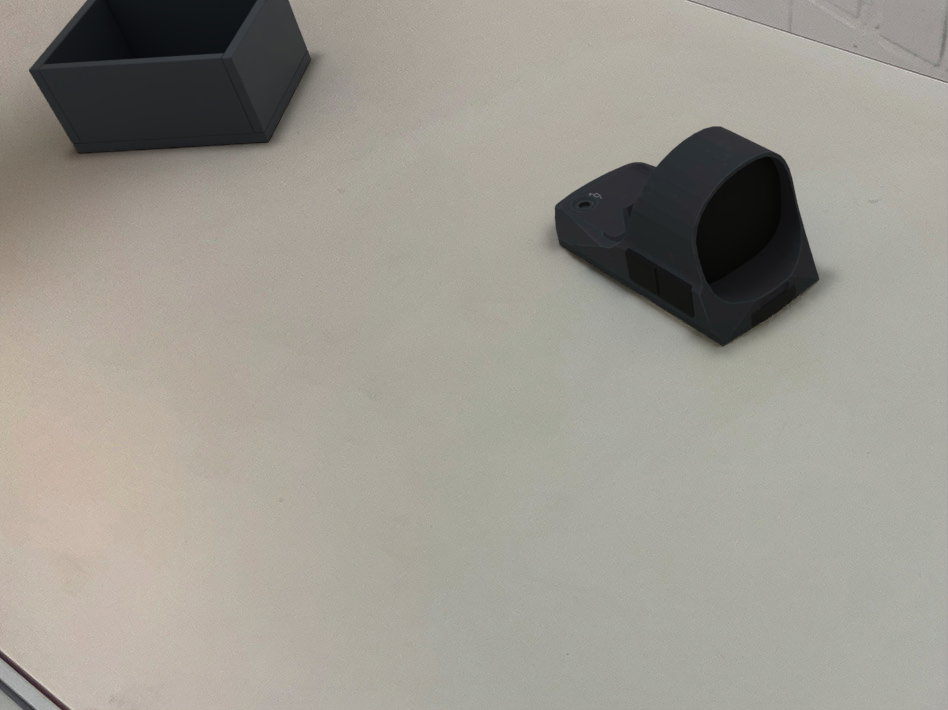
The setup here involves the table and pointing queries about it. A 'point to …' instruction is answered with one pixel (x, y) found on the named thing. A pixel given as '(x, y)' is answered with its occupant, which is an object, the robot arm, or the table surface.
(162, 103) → the bin
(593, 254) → the sight
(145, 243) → the table surface
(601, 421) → the table surface
